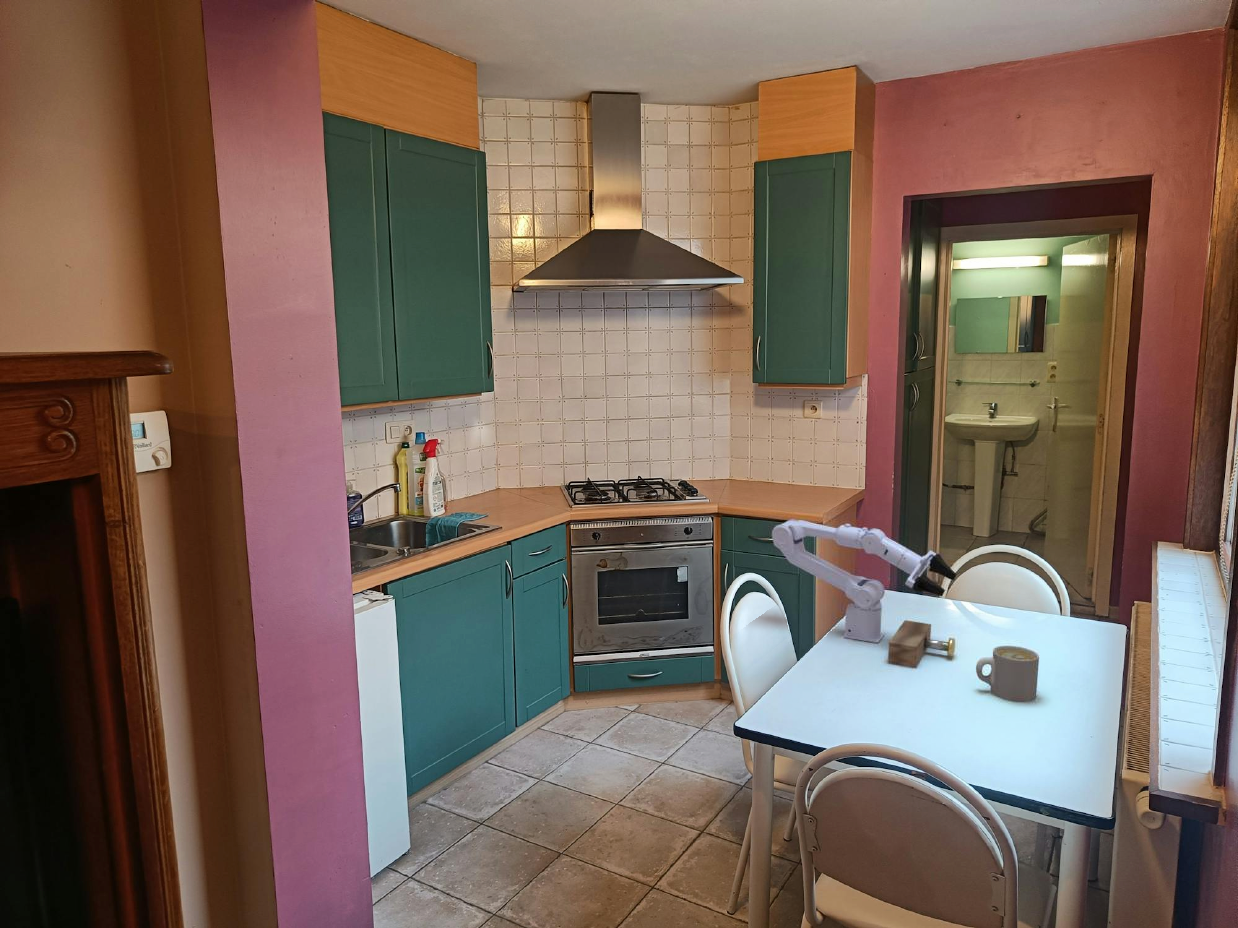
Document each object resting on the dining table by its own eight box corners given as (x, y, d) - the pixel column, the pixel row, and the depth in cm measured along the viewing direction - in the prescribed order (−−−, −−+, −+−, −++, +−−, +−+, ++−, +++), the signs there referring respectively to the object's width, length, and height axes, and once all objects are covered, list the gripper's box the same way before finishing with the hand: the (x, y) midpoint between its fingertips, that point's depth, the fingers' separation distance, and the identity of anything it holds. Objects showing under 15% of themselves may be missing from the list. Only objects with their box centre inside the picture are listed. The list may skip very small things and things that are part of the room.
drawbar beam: (887, 662, 225) (888, 642, 224) (903, 639, 242) (904, 620, 241) (915, 667, 222) (916, 646, 221) (930, 643, 239) (931, 624, 238)
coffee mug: (1035, 688, 209) (1038, 648, 207) (1036, 704, 200) (1039, 663, 198) (975, 679, 214) (977, 641, 213) (974, 695, 205) (976, 654, 204)
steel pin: (915, 653, 231) (916, 635, 230) (918, 647, 235) (919, 630, 234) (951, 659, 226) (952, 641, 226) (954, 653, 230) (955, 636, 230)
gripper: (895, 563, 229) (943, 590, 223) (919, 534, 238) (965, 560, 232) (887, 580, 234) (934, 608, 228) (911, 551, 242) (956, 577, 236)
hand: (949, 585), depth 230 cm, fingers open, 7 cm apart
